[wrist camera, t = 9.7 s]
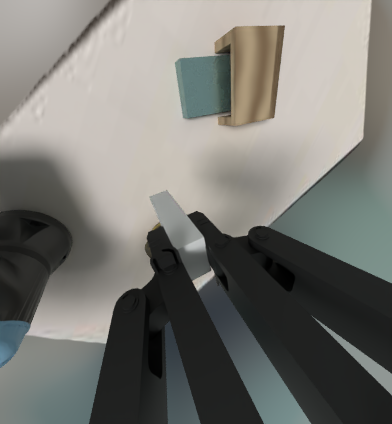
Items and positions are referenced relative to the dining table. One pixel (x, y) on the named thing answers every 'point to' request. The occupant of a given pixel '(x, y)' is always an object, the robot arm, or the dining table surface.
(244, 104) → the overhang
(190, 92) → the teal tabbed plate
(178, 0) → the dining table surface
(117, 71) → the dining table surface
